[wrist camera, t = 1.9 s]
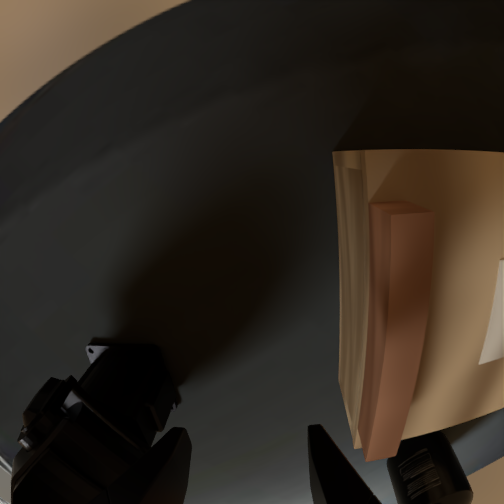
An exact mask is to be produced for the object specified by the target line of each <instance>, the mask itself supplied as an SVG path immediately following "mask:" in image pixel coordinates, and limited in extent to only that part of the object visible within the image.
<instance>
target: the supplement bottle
mask: <svg viewBox="0 0 504 504" xmlns="http://www.w3.org/2000/svg"><path fill="white" fill-rule="evenodd" d="M387 468H388V472H389V475H390V479H391V482H392V486H393V489H394V493H395V496H396V500H397V503H398V504H471V502H472V499H473V491H472V489H471V487H470V484H469V482H468V480H467V477H466V475H465V473H464V471H463V469H462V467H461V465H460V463H459V460H458V458H457V456H456V454H455V452H454V450H453V448H452V446H451V444H450V442H449V440H448V439H447V437H446V435H445V434H443V433H442V432H439V431H434V432H431V433H427V434H423V435H419V436H416V437H412V438H409V439H407V440H405V441H404V442H402V443H401V444H399V448H398V451H397V454H396V456H393V457H389V458H388V460H387Z"/></svg>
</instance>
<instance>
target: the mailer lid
mask: <svg viewBox="0 0 504 504" xmlns="http://www.w3.org/2000/svg"><path fill="white" fill-rule="evenodd" d="M360 152H361V163H362V177H363V193H364V213H365V259H366V269H365V315H364V335H363V351H362V365H361V376H360V387H359V396H358V405H357V414H356V421H355V429H354V436H353V446H354V449H358V448H362V449H363V453H364V457H365V461H366V462H369V461H374V460H379V459H384V458H389V457H393V456H396V454H397V451H398V448H399V444H400V441H401V440H403V439H407V438H412V437H416V436H419V435H423V434H427V433H431V432H434V431H438V430H441V429H444V428H448V427H451V426H454V425H457V424H460V423H463V422H466V421H469V420H472V419H475V418H478V417H480V416H483V415H486V414H488V413H491V412H494V411H496V410H499V409H501V408H504V153H503V152H488V151H470V150H440V149H386V150H360Z"/></svg>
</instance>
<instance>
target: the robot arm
mask: <svg viewBox="0 0 504 504" xmlns="http://www.w3.org/2000/svg"><path fill="white" fill-rule="evenodd" d="M91 349H92V350H91ZM151 350H153V351H154V352H155V353H153V352H151ZM86 352H87V354H88V357H89V359H90V362H91V366H90V367H89V368H88V369H87V371H86V372H85V373H84V375H83V376H82V377H81V378H80V380H79V381H78V382H77V380H76V379H75V378H74V377H73V376H72V375H70V376H69V377H68V378H67V379H66V380H59V379H56V378H53V377H51V378H50V379H49V380H48V381H47V382H46V383H45V384H44V385H43V387H42V388H41V389H40V390H39V391H38V393H37V394H36V395H35V396H34V398H33V399H32V401H31V402H30V404H29V405H28V407H27V408H26V410H25V411H24V413H23V414H22V416H23V424H24V425H23V427H22V429H21V433H20V435H19V438H18V440H17V442H18V443H19V444H21V445H22V446H23V447H22V448H21V450H20V451H19V452H18V453H17V455H16V456H15V458H14V460H13V468H12V478H11V504H183V503H184V499H185V495H186V491H187V486H188V478H189V469H190V460H191V452H192V444H191V441H190V438H189V435H188V433H187V430H186V429H185V428H182V427H173V428H171V429H170V430H169V431H168V432H167V433H166V434H165V435H164V436H163V437H162V438H161V439H160V440H159V441H158V442H157V443H156V444H155V445H153V446H152V447H151V445H152V443H153V440H154V438H155V435H156V433H157V432H162V431H163V430H164V427H165V425H166V422H167V419H168V417H169V414H170V412H174V411H176V409H177V402H176V399H175V398H176V393H175V390H174V387H173V384H172V381H171V377H170V374H169V372H168V371H167V370H166V368H165V365H164V362H163V358H162V355H161V352H160V349H159V348H158V347H157V346H156V345H152V344H101V343H89V344H88V345H87V347H86ZM172 406H173V407H172ZM308 456H309V473H310V487H311V493H312V497H313V502H314V504H382V503H381V502H380V501H379V500H378V498H377V497H376V496H375V495H373V494H374V493H373V492H372V491H371V490H370V488H369V487H368V486H367V484H366V483H365V482H364V481H363V479H362V478H361V477H360V475H359V474H358V473H357V471H356V470H355V469H354V468H353V466H352V465H351V464H350V462H349V461H348V460H347V458H346V457H345V456H344V454H343V453H342V452H341V450H340V449H339V448H338V446H337V445H336V444H335V442H334V441H333V440H332V438H331V437H330V436H329V434H328V433H327V431H326V430H325V429H324V427H323V426H322V425H321V424H315V425H309V426H308Z"/></svg>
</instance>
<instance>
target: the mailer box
mask: <svg viewBox="0 0 504 504" xmlns="http://www.w3.org/2000/svg"><path fill="white" fill-rule="evenodd" d="M332 155H333V165H334V177H335V190H336V205H337V222H338V243H339V274H340V346H339V377H338V380H339V384H340V388H341V392H342V396H343V400H344V404H345V408H346V412H347V417H348V421H349V425H350V430H351V434H352V438H353V436H354V429H355V421H356V414H357V405H358V396H359V387H360V376H361V365H362V351H363V335H364V315H365V269H366V259H365V213H364V193H363V177H362V163H361V152H360V150H355V151H335V152H332Z"/></svg>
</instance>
